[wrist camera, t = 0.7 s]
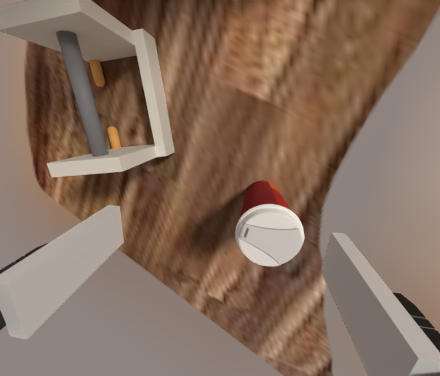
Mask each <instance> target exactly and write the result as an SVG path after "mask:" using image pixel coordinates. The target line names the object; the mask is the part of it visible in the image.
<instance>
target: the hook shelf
mask: <svg viewBox="0 0 440 376" xmlns="http://www.w3.org/2000/svg"><path fill="white" fill-rule="evenodd" d="M0 31H1V32H4V33H7V34H10V35H13V36H16V37H19V38H21V39H24V40H27V41H30V42H33V43H36V44H39V45H41V46H44V47H47V48H50V49H53V50H56V51H59V52H62V55H63V59H64V62H65V65H66V69H67V72H68V75H69V79H70V82H71V85H72V89H73V92H74V96H75V99H76V102H77V106H78V109H79V112H80V116H81V119H82V122H83V126H84V129H85V133H86V136H87V139H88V143H89V146H90V149H91V154H86V155H82V156H77V157H73V158H69V159H64V160H60V161H55V162H51V163H47V166H48V169H49V171H50V174H51V177H61V176H74V175H86V174H99V173H112V172H123V171H125V170H128V169H130V168H132V167H135V166H137V165H139V164H142V163H144V162H146V161H149V160H151V159H154V158H156V157H162V156H168V155H170V154H172V153H174V146H173V140H172V135H171V129H170V123H169V117H168V112H167V106H166V100H165V94H164V89H163V83H162V77H161V71H160V66H159V60H158V54H157V48H156V42H155V39H154V38H153V37H152V36H151V35H150V34H149V33H147V32H146V31H145V30H144V29H143V28H142V29H137V30H130V29H129V28H128V27H126V26H125V25H124V24H122V23H121V22H120V21H118V20H117V19H116V18H114V17H113V16H112V15H110V14H109V13H108V12H106V11H105V10H104V9H102V8H101V7H100V6H98V5H97V4H96V3H94V2H93V1H92V0H26V1H22V2H18V3H13V4H9V5H5V6H1V7H0ZM131 56H137V59H138V64H139V69H140V74H141V79H142V84H143V88H144V93H145V98H146V103H147V108H148V113H149V118H150V123H151V128H152V133H153V138H154V143H155V144H151V145H141V146H131V147H121V143H120V139H119V135H118V131H117V129H116V128H115V127H113V126H111V127H109V128H108V130H107V131H108V135H109V139H110V142H111V146H112V149H109V150H108V149H107V145H106V142H105V138H104V134H103V131H102V127H101V123H100V120H99V116H98V112H97V109H96V105H95V101H94V98H93V94H92V90H91V86H90V83H89V79H88V75H87V72H86V68H85V64H84V61H83V60H85V61H87V62H89V63H90V67H91V71H92V75H93V78H94V82H95V84H96V85H97V86H98V87H104V86H105V79H104V75H103V71H102V67H101V63H100V62H103V61H109V60H114V59H120V58H126V57H131Z"/></svg>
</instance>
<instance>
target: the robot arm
mask: <svg viewBox="0 0 440 376" xmlns="http://www.w3.org/2000/svg"><path fill="white" fill-rule="evenodd" d="M123 243H124V240H123V232H122V223H121V214H120V206H113V205H108V206H106V207H105V208H103V209H101V210H100V211H98V212H97V213H95V214H94V215H92V216H90V217H89V218H87V219H86V220H84V221H83V222H81V223H79V224H78V225H76V226H75V227H73V228H72V229H70V230H69V231H67V232H65V233H64V234H62V235H61V236H59V237H58V238H56V239H55V240H53V241H51V242H49V243H47V244H44V245H42V246H39V247H37V248H35V249H34V250H32V251H30V252H29V253H27V254H26V255H25V256H22V257H21V258H19V259H18V260H16V261H15V262H13V263H11V264H9V265H8V266H6V267H5V268H3V269H1V270H0V330H1V329H2V328H3V327H4V326H6V327H7V329H8V332H9V334H10V336H12V337H17V338H22V339H28V338H29V337H30V336H31V335H32V334H33V333H34V332H35V331H36V330H37V329H38V328H39V327H40V326H41V325H42V324H43V323H44V322H45V321H46V320H47V319H48V318H49V317H50V316H51V315H52V314H53V313H54V312H55V311H56V310H57V309H58V308H59V307H60V306H61V305H62V304H63V303H64V302H65V301H66V300H67V299H68V298H69V297H70V296H71V295H72V294H73V293H74V292H75V291H76V290H77V289H78V288H79V287H80V286H81V285H82V284H83V283H84V282H85V281H86V280H87V279H88V278H89V277H90V276H91V275H92V274H93V273H94V272H95V271H96V270H97V269H98V268H99V267H100V266H101V265H102V264H103V263H104V262H105V261H106V260H107V259H108V258H109V257H110V256H111V255H112V254H113V253H114V252H115V251H116V250H117V249H118V248H119V247H120V246H121V245H122V244H123ZM321 272H322V274H323V277H324V279H325V281H326V283H327V285H328V288H329V290H330V292H331V294H332V297H333V299H334V301H335V303H336V305H337V308H338V310H339V312H340V314H341V317H342V319H343V321H344V323H345V325H346V328H347V329H348V332H349V334H350V336H351V339H352V341H353V343H354V345H355V348H356V350H357V352H358V354H359V356H360V359H361V361H362V363H363V365H364V367H365V369H366V372H367V374H368V376H440V334H439V332H438V331H436V330H435V329H434V327H433V326H432V324H430V322H429V321H428V320H426V319H425V316H424V315H423V314H422V313H421V312H420V311H419V310H418V308H417V307H416V306H415V305H414V304H413V303H411V302H410V301H409V300H408V299H407V298H405V297H404V296H403V295H401V294H399V293H392V292H391V291H390V289H389V288H388V287H387V286H386V284H385V283H384V282H383V280H382V279H381V278H380V277H379V275H378V274H377V273H376V272H375V270H374V269H373V268H372V267H371V265H370V264H369V263H368V262H367V261H366V259H365V258H364V257H363V255H362V254H361V253H360V251H359V250H358V249H357V248H356V246H355V245H354V244H353V243H352V241H351V240H350V239H349V238H348V237H347V235H346V234H342V233H333V232H332V233H331V236H330V240H329V243H328V247H327V250H326V254H325V257H324V261H323V264H322V268H321Z"/></svg>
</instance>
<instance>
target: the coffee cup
mask: <svg viewBox="0 0 440 376" xmlns="http://www.w3.org/2000/svg"><path fill="white" fill-rule="evenodd" d="M235 237H236V241H237V244H238V246H239V248H240V249H241V250H242V252H243V253H244V255H245V256H246V257H247V258H248V259H250V260H251V261H253V262H254V263H257V264H259V265H263V266H278V265H281V264H283V263H285V262H287V261H289V260H291V259H292V258H293V257H294V256H295V255H296V254H297V253H298V252H299V251H300V249H301V247H302V244H303V242H304V238H305V237H304V232H303V227H302V224H301V222H300V220H299V218H298V217H297V216H296V215H295V214H294V213H293V212H292V211H291V210H290V209H289V207H288V205H287V204H286V202H285V200H284V199H283V197H282V195H281V194H280V192H279V191H278V189H277V188H276V187H275V186H274V185H273V184H272V183H270V182H268V181H257V182H255V183H253V184H252V185H251V186H250V187H249V188H248V190H247V192H246V195H245V200H244V204H243V209H242V212H241V216H240V219H239V221H238V223H237V225H236V230H235Z"/></svg>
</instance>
